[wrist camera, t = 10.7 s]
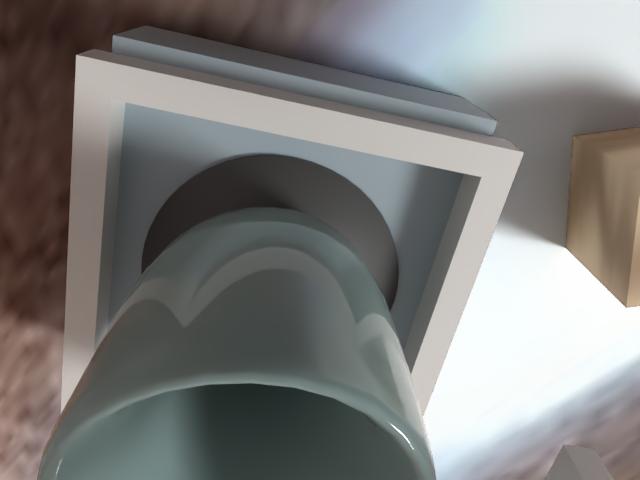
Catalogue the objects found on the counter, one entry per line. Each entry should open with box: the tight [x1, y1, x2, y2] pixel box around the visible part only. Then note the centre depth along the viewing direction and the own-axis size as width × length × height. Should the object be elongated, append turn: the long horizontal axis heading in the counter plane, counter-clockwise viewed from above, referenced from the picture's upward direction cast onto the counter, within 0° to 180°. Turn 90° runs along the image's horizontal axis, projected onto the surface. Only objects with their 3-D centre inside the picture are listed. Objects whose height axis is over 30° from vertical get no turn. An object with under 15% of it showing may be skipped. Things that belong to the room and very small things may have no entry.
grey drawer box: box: [61, 25, 524, 416], centre depth 21 cm, size 15×13×6 cm
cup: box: [37, 206, 436, 480], centre depth 15 cm, size 8×8×10 cm
